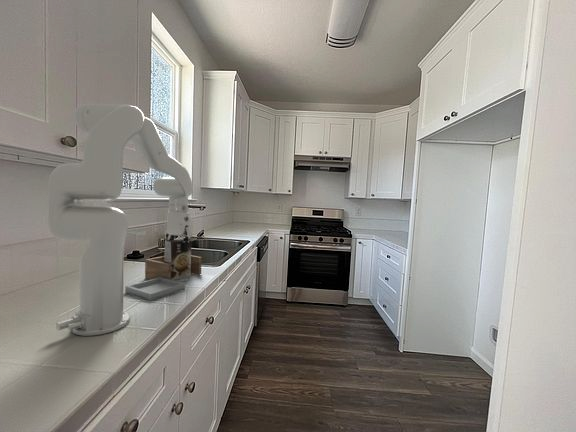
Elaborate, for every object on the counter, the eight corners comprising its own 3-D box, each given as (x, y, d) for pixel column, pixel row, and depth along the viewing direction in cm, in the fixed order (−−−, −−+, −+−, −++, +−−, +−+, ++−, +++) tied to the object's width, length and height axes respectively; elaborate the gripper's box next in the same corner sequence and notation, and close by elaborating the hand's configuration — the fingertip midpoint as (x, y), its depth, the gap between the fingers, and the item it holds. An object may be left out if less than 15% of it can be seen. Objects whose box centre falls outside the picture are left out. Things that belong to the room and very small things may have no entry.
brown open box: (167, 284, 107) (168, 264, 106) (145, 278, 113) (145, 259, 113) (201, 274, 122) (201, 257, 121) (179, 269, 129) (179, 253, 128)
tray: (150, 301, 89) (150, 294, 89) (125, 292, 96) (125, 286, 96) (184, 289, 102) (184, 283, 101) (160, 282, 108) (160, 277, 108)
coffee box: (171, 281, 111) (172, 242, 110) (163, 277, 115) (163, 240, 114) (191, 276, 118) (192, 240, 117) (182, 273, 122) (183, 238, 121)
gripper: (200, 210, 114) (199, 251, 115) (172, 207, 122) (171, 246, 123) (185, 210, 107) (184, 254, 108) (157, 208, 116) (156, 249, 117)
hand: (177, 250), depth 116 cm, fingers closed on coffee box, 6 cm apart
